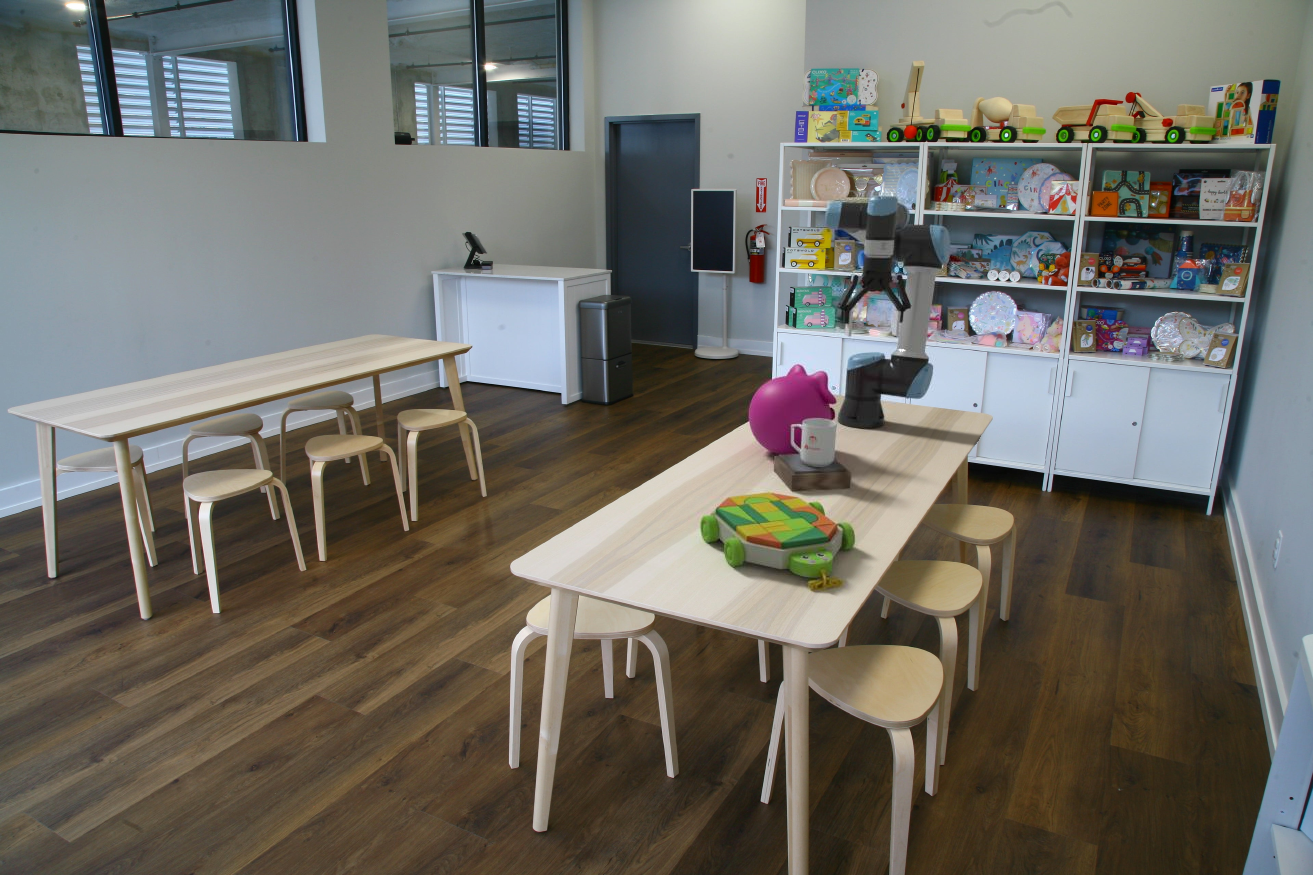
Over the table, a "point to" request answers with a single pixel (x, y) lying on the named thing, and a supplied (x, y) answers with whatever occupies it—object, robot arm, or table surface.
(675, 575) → the table surface
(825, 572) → the toy wagon
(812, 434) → the mug
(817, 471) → the walnut plinth
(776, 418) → the figurine
